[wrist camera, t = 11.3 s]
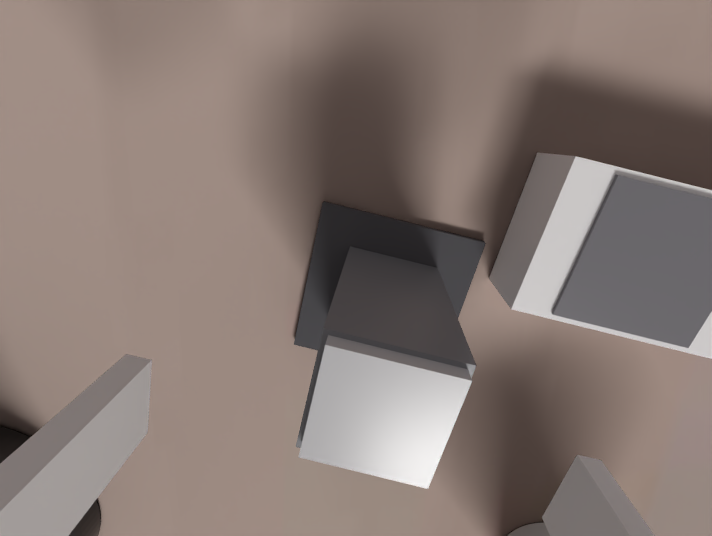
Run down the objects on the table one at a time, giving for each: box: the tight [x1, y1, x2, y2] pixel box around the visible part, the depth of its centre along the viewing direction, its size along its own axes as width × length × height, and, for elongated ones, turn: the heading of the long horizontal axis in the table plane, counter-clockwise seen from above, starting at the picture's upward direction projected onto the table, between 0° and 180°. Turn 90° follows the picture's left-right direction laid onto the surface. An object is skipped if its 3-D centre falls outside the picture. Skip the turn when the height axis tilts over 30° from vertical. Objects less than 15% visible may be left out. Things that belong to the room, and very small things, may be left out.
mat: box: [294, 201, 486, 350], centre depth 22 cm, size 9×9×1 cm
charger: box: [296, 246, 476, 489], centre depth 17 cm, size 5×5×10 cm
